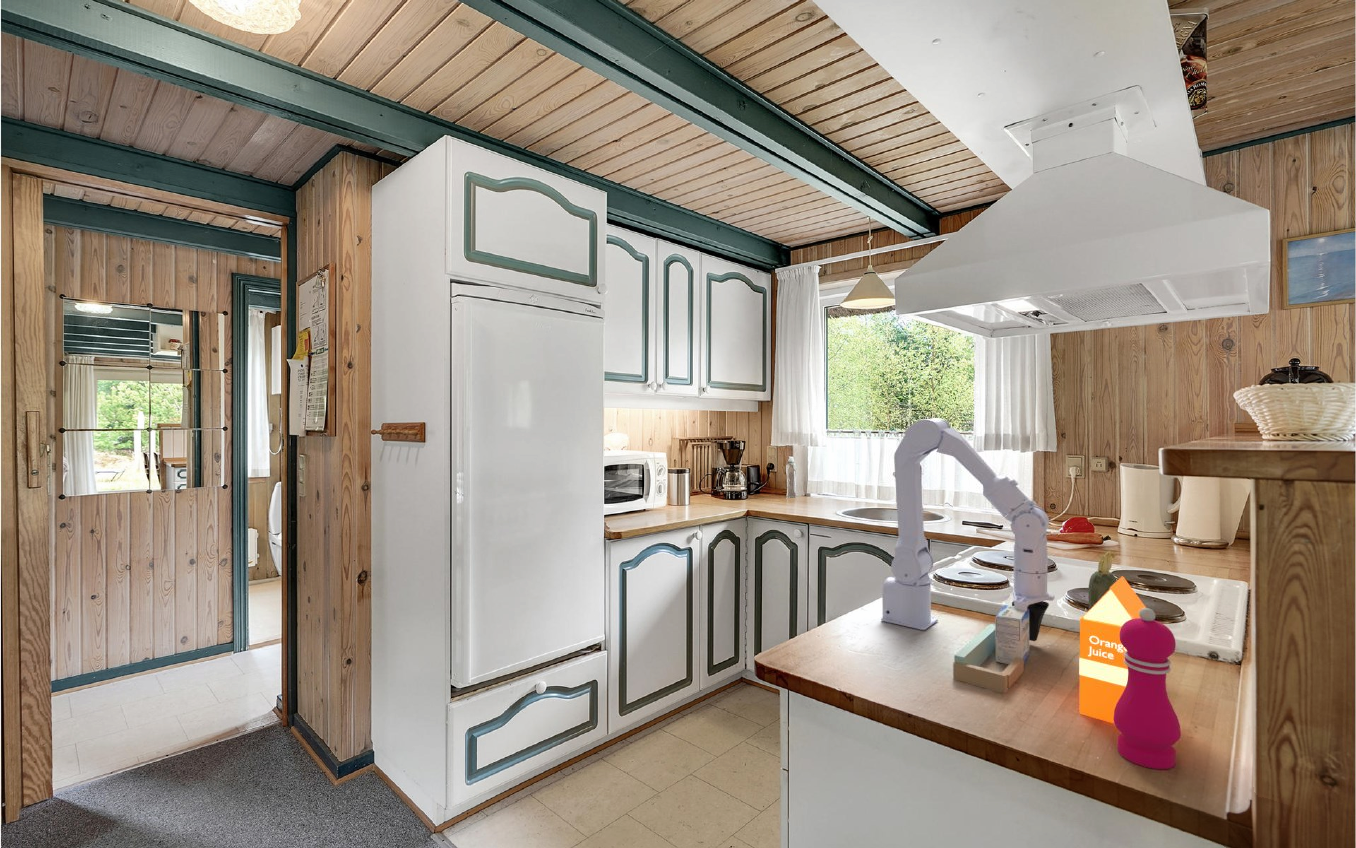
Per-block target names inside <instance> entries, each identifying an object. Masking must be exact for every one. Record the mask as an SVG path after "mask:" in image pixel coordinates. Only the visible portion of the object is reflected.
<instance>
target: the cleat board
mask: <svg viewBox="0 0 1356 848" xmlns="http://www.w3.org/2000/svg"><path fill="white" fill-rule="evenodd" d="M994 652H996V645H995V623H994V624H993V623H990V624H988V625H987V626H986V627H985V628H984V629H982V630H981V631H980V632H979V633H978V634H977V635H976V636H975V637H973V638H972V639H971V640H970V641H968V643H966V644H965V645H964V646H963V647H962V648H961V649H960V650H959V651H957V652H956V653H955V654H954V657H953V659H954V661H953V663H952V671H953V672H952V675H953V677H952V679H953V680H955V681H958V682H962V683H966V684H969V685H974V686H978V687H981V688H983V689H987V690H992V691H995V692H999V693H1003V694H1006V693H1007V691H1008V689H1010V688H1011V687H1012V685H1014V683H1015V682H1016V681H1017V680H1018V679H1019V677H1020V676H1021V675H1022V674H1023V673H1024V671H1025V662H1024V659H1023V658H1019V657H1016V658H1015V659H1014V660H1013V661H1012V662H1011V663H1010V664H1007V666H1006V667H1005V669H1004V670H1003V671H997V670H993V669H989V668H985V667H981V665H982V664H983V663H984V662H985V661H986V660H987V659H988V658H989V657H990V656H991V654H993V653H994Z"/></svg>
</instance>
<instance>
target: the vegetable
mask: <svg viewBox="0 0 1356 848" xmlns="http://www.w3.org/2000/svg"><path fill="white" fill-rule="evenodd" d="M1115 557H1116V553H1114V552H1113V550H1111V549H1110V550H1108V551H1106V553H1104V556H1103V555H1102V556H1101V557H1100V559H1099V561H1098V566H1097V570H1096V571H1094V572H1093V573H1092V574H1091V576H1090V577H1089V582H1088V611H1089V610H1090V609H1091V608H1092V607H1093V606H1094V605H1095V604H1096V603H1097V602H1098V601H1099V600H1100V599H1101V598H1102V597H1103V596H1104V595H1105V594H1106V593H1107V592H1108V591H1109V590H1110V587H1111V586H1112V585H1113V584H1114V583H1115V582H1117V581H1118V579H1117V578H1116V576H1115V575H1114V573H1112V572H1110V570H1111V568H1112V564H1113V560H1112V559H1114V558H1115Z"/></svg>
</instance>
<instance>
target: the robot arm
mask: <svg viewBox="0 0 1356 848" xmlns="http://www.w3.org/2000/svg"><path fill="white" fill-rule="evenodd" d="M934 451H936V452H937V453H939V454H943V455H947V456H951V457H953V458H955V459H956V460H957V461H958V463H960V465H962V466H963V467H964V468H965V469H966V471H968V472H969V473H970V474H971V475H972V476H973V477H974V479H976V480H977V481H978V482H979V483H980V484H981V485H982V494H983V496H984V497H985V499H986V500H987V501H988V502H990V504H991V505H992V506H993V507H994V508H995V509H996V510H997V512H999V513H1000V515H1002V517H1003V518H1004V519H1005V520H1007V521H1009V522H1010V524H1009V525H1010V529H1011V532H1012V533H1013V534H1014V544H1013V589H1012V597H1013V599H1014V600H1013V601H1012V602H1011V606H1014V609H1016V610H1022V611H1027V608H1028V609H1029V641H1032V642H1036V641H1037V640H1038V637H1039V634H1040V629H1041V625H1042V621H1043V619H1044V617H1045V616H1044V615H1045V614H1046V611H1047V609H1048V608H1049V606H1050V603H1049V602H1047V601H1054V600H1055V595H1054V594H1051V593H1048V549H1049V548H1048V546H1047V543H1048V538H1047V534H1046V532H1047V530H1048V529H1049V526H1050V518H1049V516H1048V514H1047V513H1046V512H1045V511H1046V510H1045V509H1044V508H1042V507H1041V506H1038V505H1037V503H1036V501H1035V500H1033V499H1032V500H1030V499H1029V497H1027V495H1026V494H1024V492H1023V491H1021V489H1019V488H1018V485H1019V483H1018V481H1017V480H1016V479H1010V478H1009V477H1008V476H1006V475H997V474H996V473H995V472H994V470H993V469H991V467H990V466H989V465H988V464H987V462H986V461H985V460H984V459H983V458H982V457H981V456H980V455H979V453H978V451H976V450H975V449H974V448H973V447H972V445H971V444H970V443H969V442H968V440H966V439H965V438H964V436H963V435H962V433H960V432H959V431H958V430H957V429H955V427H952V426H951V425H950V423H949V422H948V421H947V420H945V419H943V418H941V417H933V418H922V419H919V420H917V421H915V422H913V423H912V424H911V425H910V426H909V427H907V428H906V429H905V431H904V436H903V437H902V439H901V441H900V443H899V445H898V447H897V448H896V450H895V452H894V455H893V457H894V458H893V460H894V461H893V462H894V479H895V495H896V513H897V516H896V517H897V528H898V529H897V530H898V531H897V533H898V538H897V541H896V544H895V546H894V558H893V559H892V561H891V567H890V569H891V573H892V575H893V576H894V577H893V576H889V577H887V578H886V579H885V581H884V582H883V586H882V597H881V598H882V617H881V618H880V620H881V621H882V622H886V623H890V624H895V625H899V626H903V627H908V628H912V629H917V630H919V631H920V630H921V631H925V630H927V629H929V628H930V627H931V626H932V625H934V624H935V623H937V622H938V621H939V618H938V617H935V616H932V615H931V614H932V611H931V607H932V606H931V605H932V604H931V602H932V601H931V599H932V598H931V597H932V594H931V591H932V589H931V583H932V582H931V578H930V576H929V573H930V572H931V571H932V569H933V567H934V557H933V555H932V553H931V552H930V550H929V542H928V540H927V537H926V536H925V528H924V526H925V525H924V509H923V496H922V495H923V494H922V479H921V478H922V475H921V462H922V461H924V459H925V458H927V457H928V456H929V455H930V454H931V452H934Z"/></svg>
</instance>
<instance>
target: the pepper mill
mask: <svg viewBox="0 0 1356 848" xmlns="http://www.w3.org/2000/svg"><path fill="white" fill-rule="evenodd" d="M1139 616H1140V618H1134V619H1131V620H1128V621H1127V622H1125V623H1124V624H1123V625H1122V627H1121V629H1120V634H1119V637H1120V642H1121V644H1122V645H1123V646H1124V647H1125V649H1126V650H1127V651H1126V652H1125V653H1124V657H1125V659H1124V663H1125V664H1126V665H1127V667H1128V680H1127V684H1126V687H1125V689H1124V691H1123V693H1122V695H1121V697H1120V698H1119V700H1118V702H1117V704H1116V707H1115V709H1114V717H1113V720H1114V723H1113V724H1114V726H1115V727H1116V729H1117V730H1118V732H1119V733H1120V734H1119V735H1118V736H1117V752H1118V754H1120V755H1121V756H1122V758H1125V760H1127V761H1130V762H1131V763H1134V764H1136V765H1138V766H1140V767H1141V766H1142V767H1145V768H1148V769H1153V770H1168V769H1172V768H1173V767H1175V766H1176V764H1177V762H1176V761H1177V760H1176V755H1177V753H1176V749H1175V747H1174V745H1175V744H1177V743H1178V742H1179V741H1180V739H1181V735H1182V732H1181V724H1180V721H1179V719H1178V715H1177V714H1176V711H1175V710H1174V707H1173V705H1172V703H1171V701H1170V699H1169V695H1168V691H1167V675H1168V674H1169V673H1170V672H1171V667H1170V666H1171V660H1170V659H1169V657H1170V656H1172V655H1173V654H1174V653H1175V650H1176V647H1177V643H1176V638H1175V636H1174V634H1173V632H1172V630H1171V629H1170V628H1169V627H1167V626H1166V625H1165V624H1164V623H1162V622H1160V621H1157V620H1155V619H1156V613H1155V612H1154V610H1153V609H1151V608H1148V607H1146V608H1143V609H1141V610H1140V611H1139Z"/></svg>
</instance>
